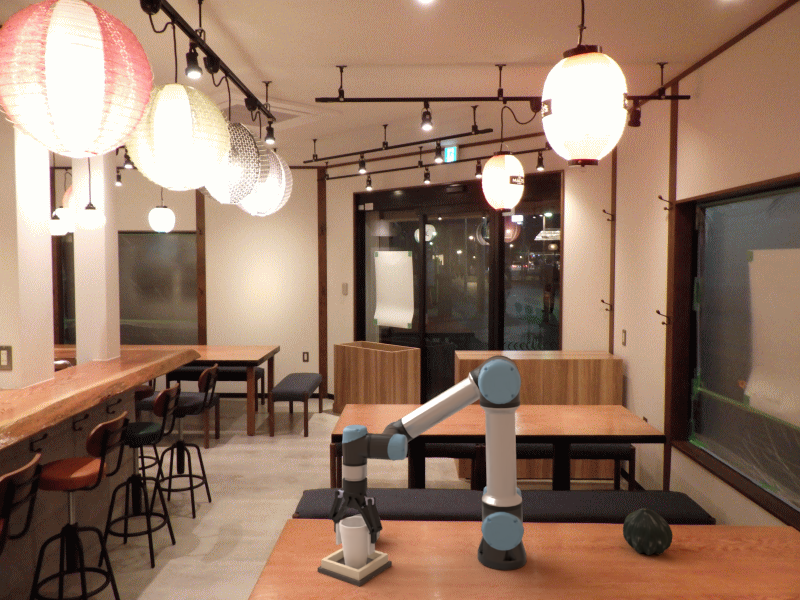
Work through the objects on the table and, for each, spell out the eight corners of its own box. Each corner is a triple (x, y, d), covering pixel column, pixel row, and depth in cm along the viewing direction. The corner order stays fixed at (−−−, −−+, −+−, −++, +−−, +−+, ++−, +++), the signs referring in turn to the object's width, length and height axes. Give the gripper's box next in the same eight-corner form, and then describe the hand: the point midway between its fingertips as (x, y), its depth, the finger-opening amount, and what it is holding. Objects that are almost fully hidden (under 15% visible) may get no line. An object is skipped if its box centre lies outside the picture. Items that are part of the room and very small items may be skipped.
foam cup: (347, 574, 183) (346, 530, 182) (335, 562, 191) (334, 520, 190) (376, 567, 187) (375, 524, 187) (363, 555, 195) (363, 514, 195)
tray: (391, 565, 191) (391, 553, 191) (359, 586, 178) (359, 574, 178) (351, 552, 200) (351, 541, 200) (317, 571, 187) (317, 559, 187)
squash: (657, 521, 212) (633, 492, 208) (689, 541, 197) (664, 509, 194) (630, 552, 210) (605, 522, 206) (659, 574, 195) (633, 543, 192)
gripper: (394, 481, 184) (394, 553, 185) (332, 467, 198) (333, 535, 199) (379, 488, 178) (379, 563, 179) (316, 473, 192) (317, 543, 192)
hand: (355, 548), depth 189 cm, fingers open, 11 cm apart
